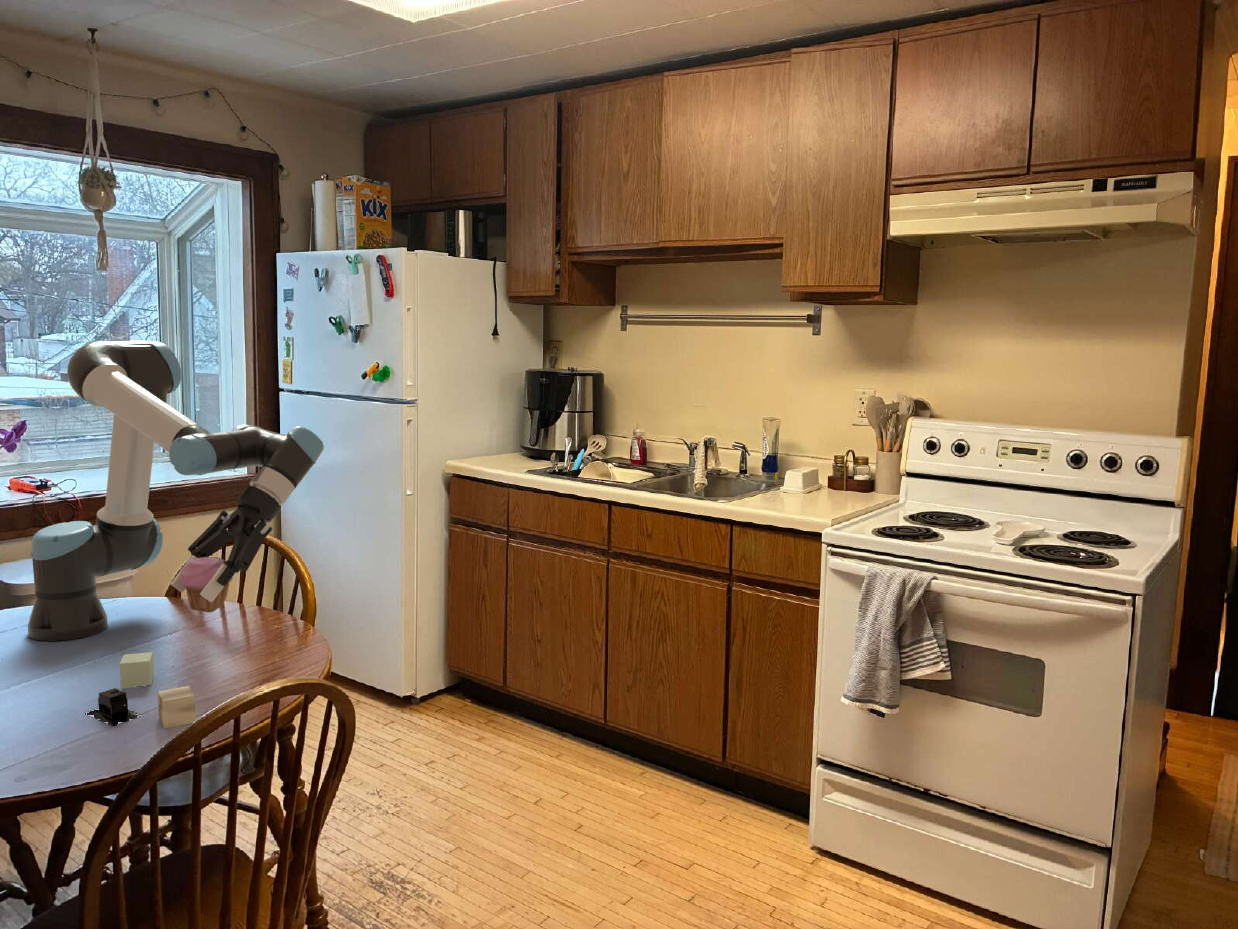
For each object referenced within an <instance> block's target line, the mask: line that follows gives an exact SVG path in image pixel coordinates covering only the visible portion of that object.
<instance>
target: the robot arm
mask: <svg viewBox="0 0 1238 929" xmlns="http://www.w3.org/2000/svg"><path fill="white" fill-rule="evenodd" d="M66 370H67V380H68V383H69V385H70V387H71V388H72V389H73V391H74V392H75V393H76V394H77V396H79V397H80V398H81V399H82V400H84V401H85V402H87V403H89V405H91V406H94V407H96V408H97V407H100V408H104V409H106V410H107V411H109V412H110V413H112V415H113V418H112V419H113V421H112V430H111V439H110V440H111V441H110V452H109V462H108V471H107V472H108V473H107V483H106V493H105V494H106V495H105V502H104V503H105V504H104V506H102V508H100V509H99V510H98V511H97V512H96V519H95V524H94V525H93V523H91V522H90V521H85V520H74V521H69V522H58V523H55V524H52V525H48V526H45V527H44V528H41V529H39V530H38V531H37V532H36V533H35V534H34V535H33V536H32V539H31V552H30V556H31V558H32V570H33V571H32V572H33V583H34V584H33V586H34V598H35V599H34V604H33V607H32V609H31V613H30V617H29V621H28V623H27V634H28V637H29V638H30V639H32V640H36V641H44V642H54V641H55V642H58V640H61V641H68V640H75V639H81V637H82V638H86V637H89V636H90V637H91V636H93V635H96V634H97V633H101V632H102V631H104V630H106V628H108V626H109V624H108V616H107V612H106V611H105V608H104V605H103V604H102V601H101V600H100V597H99V595H98V593H97V578H99V577H100V578H101V577H104V576H108V575H112V574H113V575H114V574H117V573H121V572H126V571H130V570H131V571H133V570H137V569H139V568H142V567H145V566H147V565H150V564H151V563H153V562H154V561H156V559H157V558H158V557H159V555H160V553H161V551H162V548H163V543H164V540H163V539H164V535H163V532H162V531H161V528H162V527H161V525H160V524H159V522H158V521H157V520H156V519H155V518H154V516H155V515H154V514H153V512H152V511H151V510H149V509H148V505H149V504H148V503H149V496H150V486H151V485H150V484H151V477H152V476H151V475H152V468H153V467H152V466H153V458H154V448H155V444H156V445H158V446H159V447H161V449H162V448H163V449H164V450H165V451H166V452H168V456H169V462H170V463H171V465H173V468H174V470H175V471H176V472H177V473H178V474H180V475H182V476H203V475H207V474H210V473H217V472H223V471H228V470H229V471H230V470H236V469H237V470H239V469H243V468H250V467H261V468H260V469H259V470H258V471H257V473H256V474H255V475H254V477H253V478H252V479H251V480H250V481H249V486H246V487H245V488H244V490H242V493H240V495H239V496H238V498H237V499H236V502H237V506H238V507H237V508H236V509H235V510H233V512H232V513H228V512H227V511H226V510H222V511H221V512H220V513H219V514H218V516H217V517H216V519H215V520H214V521H213V522H212V523H211V524H210V525H209V526H208V527H207V528H206V529H205V530H204V531H203V532H202V533H201V534H200V535H199V536H198V537H197V538H196V539H195V540H194V541H193V542H192V543H191V544H190V545H189V547H188V548H187V550H188V552H189V553H190V554H191V556H190V557H189V558H188V560H187V561H186V562H185V563H184V564H183V566H182V568H181V569H180V571H179V572H178V573H177V575H176V576H175V577H174V578H173V579H172V581H171V582H170V585H171V586H172V587H173V588H175V589H176V590H178V592H180V593H183V592H184V591H185V590H186V587H185V586H184V585H182V583H181V581H180V573H181V571H182V569H183V568H184V566H186V565H187V564H188V563H189V561H191V560H193V559H197V558H203V557H211V555H212V554H214V553H215V552H217V551H218V549H220V548H221V547H222V546H223V545H225V544H226V543H227V542H229V541H233V540H234V542H233V545H232V547H231V550H230V553H229V556H228V558H227V560H225V561H224V564H226V565H227V567H226V566H225V565H223V564H222V565H221V566H220V568H219V569H218V570H217V572H216V573H215V574H214V576H213V577H212V578H211V580H210V581H209V582H208V584H207V585H206V586H205V587H204V589H203V590H202V591H201V593H200V595H201V596H203V597H204V598H205V599H207V600H208V601H209V602H213V601H214V599H215V598H216V597H217V595H218V594H219V593H220V591H221V590H222V589H223V587H224V586H225V585H226V584H227V583H228V582H229V581H230V579H231V578H232V577H233V576H234V575H235V574H237V573H240V571H242V572H247V571H248V570H249V568H250V567H251V565H252V563H253V561H254V559H255V557H256V556H257V554H258V552H259V550H260V548H261V547H262V544H263V543H264V541H265V539H266V537H267V536H269V534H271V532H272V530H273V527H271V525H270V524H268V523H270V522H272V521H273V519H274V518H275V516H277V514H278V513H279V512H280V510H281V506H283V505H284V504H285V503H286V501H287V500H288V499H289V498H290V496H291V495H292V493H293V492H294V491H295V490H296V488H297V487H298V485H299V484H300V483H301V482H302V480H303V479H304V478H305V476H306V475H307V474H308V473H309V471H310V470H311V468H312V467H313V466H314V465H315V464H316V463H317V461H318V459H319V457H320V456H321V454H322V453H323V451H324V449H325V445H324V442H323V441H322V440H321V438H320V437H319V436H318V435H317V434H316V433H315V432H313V431H311V429H308V428H306V427H303V426H300V425H298V426H294V427H292V428H291V429H290V430H289V431H287V434H282V433H279V432H275V431H272V430H268V429H264V428H262V427H261V426H260V427H259V426H258V425H250V424H239V425H237V426H235V428H233V429H231V430H229V431H220V432H210V431H209V430H208V429H206V428H204V427H202V426H201V425H199V424H198V423H197V422H195V421H194V420H192V419H190V418H189V417H187V416H186V415H184V414H182V413H181V412H180V411H178V410H177V409H175V408H174V407H172V406H171V405H170V404H168V403H167V398H168V394H171V393H173V392H175V391H176V390H177V389H178V388H179V386H180V385H181V380H182V370H181V366H180V362H179V360H178V357H176V354H175V352H174V351H173V350H172V349H171V348H170V347H169V346H168V345H166V344H165V343H163V342H161V341H150V340H124V341H123V340H122V341H120V340H119V341H117V340H113V341H105V340H100V341H98V340H97V341H93V342H89V343H86V344H85V345H83V346H81V347H79V348H78V349H77V350H76V351H74V353H73V355H71V358H70V359H69V361H68V365H67V369H66ZM95 633H96V634H95ZM92 634H93V635H92Z"/></svg>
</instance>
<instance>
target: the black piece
mask: <svg viewBox="0 0 1238 929" xmlns="http://www.w3.org/2000/svg"><path fill="white" fill-rule="evenodd" d="M97 702H98V703H97V705H98V706H97V707H98V708H99V710H95V709H93V710H94V711H91V710H88V711H87V712H89V711H90V712H89V713H87V715H86V713H85V712H84V713H85V714H84V715H86V716H88V715H94V718H95V719H94V718H93V719H94V720H97V719H100V720H98V721H99V722H102V723H104V722H108V724H107V725H108V726H111V727H113V726H114V727H117V726H118V725H117V724H118V722H125V723H127V722H130V721H129V719H133V720H136V719H138V718H137V716H139V718H141V717H140V715H142V714H141V713H139V714H137V713H138V712H136V713H134V712H135V711H133V710H132V711H130V710H131V709H129V704H128V697H127V692H125V691H123V690H120V689H118V688H115V687H114V688H111V689H108V690H104V691H101V692H99V693H98V698H97ZM128 709H129V710H128Z"/></svg>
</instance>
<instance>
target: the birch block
mask: <svg viewBox="0 0 1238 929" xmlns="http://www.w3.org/2000/svg"><path fill="white" fill-rule="evenodd" d="M195 698H196V697H195V693H194V692H193V690H192V689H191V687H190V685H186V686H181V687H176V688H175V687H174V688H170V689H169V688H168V689H165V690H164V689H163V690H159V691H157V700H158V701H157V702H158V703H157V704H158V705H157V707H158V719H159V721H160V723H161V725H162V727H163V729H165V730H166V729H169V728H175V727H180V726H183V724H185V725H189V724H193V723H192V722H194V721H195V720H196V701H195V700H196V699H195Z"/></svg>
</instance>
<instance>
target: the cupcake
mask: <svg viewBox="0 0 1238 929" xmlns="http://www.w3.org/2000/svg"><path fill="white" fill-rule="evenodd" d="M224 561H226V560H225V559H223V558H221V557H219V556H218V557H217V556H209V557H203V558H197V559H193V560H191V561H189V563H188V564H187V565H186V566H184V565H183V566H184V568H183V569H182V568H181V569H182V571H181V570H180V571H181V573H180V581H181V583H182V585H184V586H185V587H186V589H185V590H186V595H187V602H188V604H189V608H190V609H191V610H192V611H199V612H203V613H213V612H215V611H217V610H218V609H219V608H221V607H222V606H223V604H224V602H226V600H227V599H226V598H227V596H228V592H229V587H230V583H231V582H232V581H233V579H234V578H233V577H232V578H231V579H230V581H229V582H228V583H227V584H226V585H225V586H224V587H223V589H222V590H221V591H220V593H219V594H218V595H217V597H216V598H215V599H214V601H213V602H209V601H208V600H207V599H205V598H204V597H203V596H201V595H200V593H201V591H202V590H203V589H204V587H205V586H206V585H207V584H208V582H209V581H210V580H211V578H212V577H213V576H214V574H215V573H216V572H217V570H218V569H219V568H220V566H221V565H222V564H223V565H225V566H226V567H227V565H226V564H224Z"/></svg>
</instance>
